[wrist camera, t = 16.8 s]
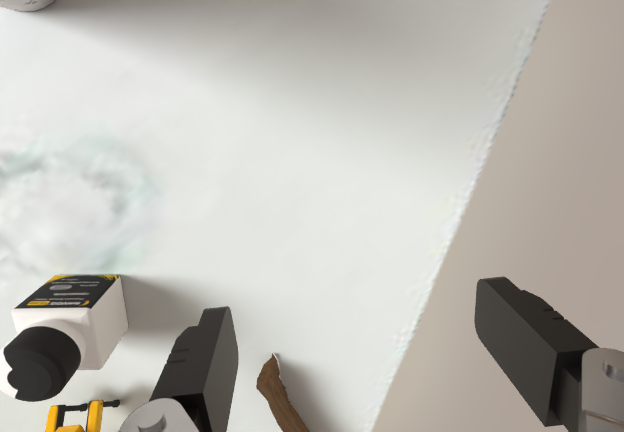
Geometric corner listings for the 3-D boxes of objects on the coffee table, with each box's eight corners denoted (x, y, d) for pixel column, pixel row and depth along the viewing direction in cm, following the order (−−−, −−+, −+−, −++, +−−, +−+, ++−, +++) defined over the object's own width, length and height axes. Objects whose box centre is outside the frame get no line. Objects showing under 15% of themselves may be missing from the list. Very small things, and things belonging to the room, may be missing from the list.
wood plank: (322, 433, 51) (326, 468, 47) (309, 438, 52) (311, 474, 47) (272, 352, 46) (270, 382, 42) (257, 358, 47) (254, 389, 42)
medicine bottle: (121, 273, 42) (58, 344, 30) (129, 327, 44) (75, 411, 33) (54, 273, 41) (-35, 345, 30) (67, 328, 44) (-11, 414, 32)
